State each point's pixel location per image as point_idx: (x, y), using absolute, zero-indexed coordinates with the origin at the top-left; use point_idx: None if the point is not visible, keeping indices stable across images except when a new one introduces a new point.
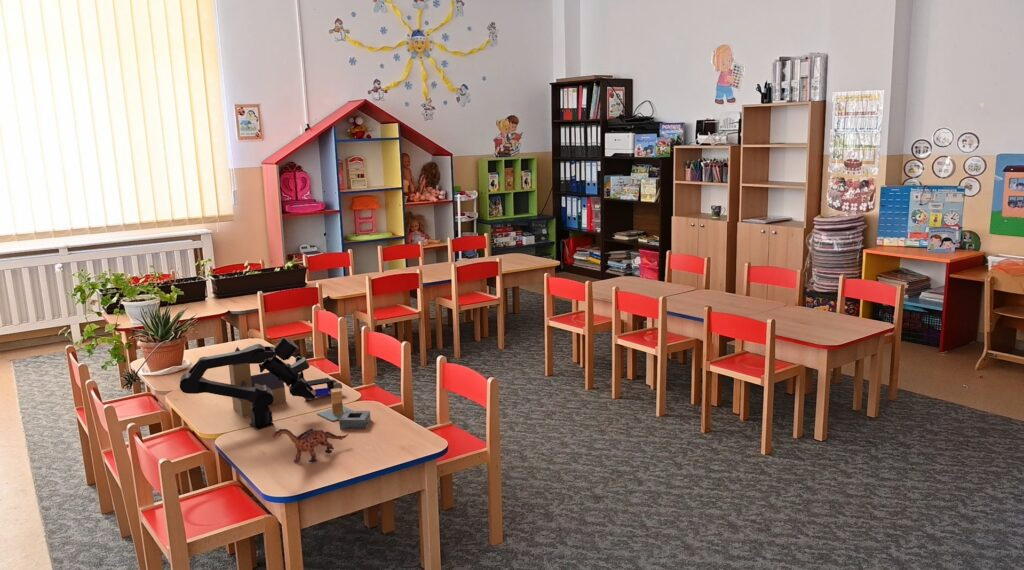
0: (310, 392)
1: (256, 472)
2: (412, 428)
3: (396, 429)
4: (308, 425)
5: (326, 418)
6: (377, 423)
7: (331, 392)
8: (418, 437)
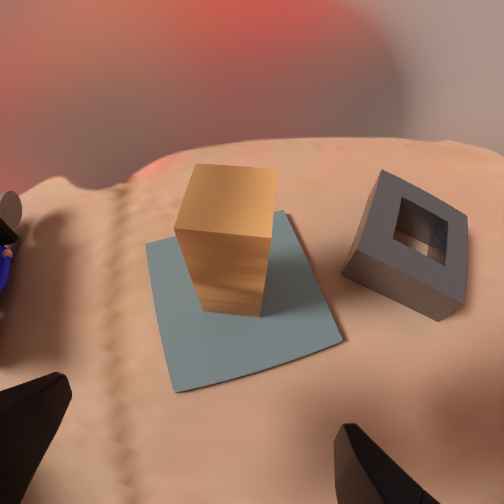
0: (410, 483)
1: None
2: (444, 148)
3: (451, 173)
4: (330, 467)
5: (282, 363)
6: None
7: (246, 241)
8: (485, 163)
